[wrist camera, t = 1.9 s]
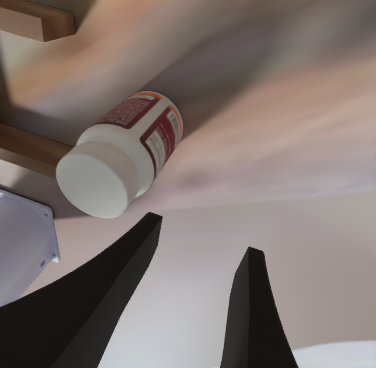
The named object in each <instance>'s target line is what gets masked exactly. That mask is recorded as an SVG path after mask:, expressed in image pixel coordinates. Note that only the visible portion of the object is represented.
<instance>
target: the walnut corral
mask: <svg viewBox="0 0 376 368" xmlns="http://www.w3.org/2000/svg"><path fill="white" fill-rule="evenodd" d="M0 30H3V31H6V32H10V33H13V34H17V35H20V36H24V37H27V38H31V39H34V40H38V41H41V42H47V41H51V40H55V39H58V38H62V37H66V36H70V35H74V34H75V26H74V13H71V12H67V11H64V10H60V9H56V8H53V7H49V6H45V5H41V4H38V3H34V2H30V1H27V0H0ZM73 148H74V147H72V146H69V145H66V144H63V143H60V142H57V141H54V140H51V139H48V138H45V137H42V136H39V135H36V134H33V133H30V132H27V131H24V130H21V129H17V128H14V127H11V126H8V125H5V124H2V123H1V121H0V159H1V160H4V161H7V162H10V163H13V164H16V165H19V166H22V167H24V168H27V169H30V170H33V171H36V172H39V173H42V174H45V175H48V176H50V177H53V178H56V168H57V165H58V163H59V161H60V160H61V159H62V158H63V157H64V156H65V155H66V154H68V153H69V152H70V151H71V150H72V149H73Z"/></svg>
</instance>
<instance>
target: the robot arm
mask: <svg viewBox="0 0 376 368" xmlns="http://www.w3.org/2000/svg"><path fill="white" fill-rule="evenodd" d="M162 218H163V217H162V216H160V215H157V214H154V213H151V212H149V213H147V214H146V215H145V216H144V217H143V218H142V219H141V220H140V221H139V222H138V223H137V224H136V225H135V226H133V228H131V229H130V230H129V231H128V232H127V233H125V234H124V235H123V236H122V237H121V238H119V239H118V240H117V241H116V242H114V243H113V244H112V245H110V246H109V247H108V248H106V249H105V250H104V251H102V252H101V253H100V254H98V255H97V256H96V257H94V258H93V259H91V260H90V261H88V262H87V263H85V264H83V265H82V266H80V267H79V268H77V269H75V270H74V271H72V272H70V273H69V274H67V275H65V276H63V277H62V278H60V279H58V280H56V281H55V282H53V283H51V284H49V285H47V286H45V287H43V288H41V289H39V290H36V291H34V292H32V293H30V294H28V295H26V296H24V297H22V298H20V297H21V296H22V294H23V293H24V292H25V291H26V290H27V288H28V287H29V286H30V285H31V284H32V283H33V281H34V280H35V279H36V278H37V277H38V275H39V274H40V273H41V272H42V271H43V270H44V268H45V267H46V266H47V265H48V264H49V262H50V261H51V260H52V261H54V262H59V261H60V254H59V248H58V243H57V237H56V231H55V226H54V220H53V214H52V210H51V208H50V207H48V206H45V205H43V204H40V203H37V202H34V201H32V200H29V199H26V198H23V197H20V196H18V195H15V194H12V193H9V192H7V191H4V190H1V189H0V368H97V367H98V365H99V363H100V360H101V358H102V356H103V354H104V351H105V349H106V347H107V345H108V342H109V340H110V338H111V336H112V334H113V331H114V329H115V327H116V325H117V323H118V320H119V318H120V316H121V314H122V312H123V310H124V309H125V307H126V305H127V303H128V302H129V300H130V298H131V296H132V295H133V293H134V291H135V289H136V287H137V286H138V284H139V282H140V280H141V279H142V277H143V275H144V274H145V271H146V270H147V268H148V266H149V264H150V262H151V260H152V257H153V255H154V253H155V250H156V248H157V246H158V240H159V235H160V229H161V223H162ZM19 298H20V299H19ZM220 368H298V365H297V363H296V361H295V358H294V356H293V353H292V351H291V348H290V346H289V343H288V341H287V338H286V335H285V333H284V330H283V327H282V324H281V321H280V318H279V315H278V312H277V308H276V305H275V301H274V298H273V294H272V290H271V286H270V282H269V278H268V273H267V268H266V262H265V255H264V253H263V251H261V250H258V249H255V248H252V247H248V249H247V251H246V253H245V255H244V257H243V259H242V261H241V263H240V265H239V267H238V269H237V271H236V273H235V276H234V280H233V285H232V289H231V293H230V299H229V307H228V316H227V324H226V333H225V342H224V349H223V355H222V361H221V366H220Z"/></svg>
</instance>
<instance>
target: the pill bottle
mask: <svg viewBox="0 0 376 368" xmlns="http://www.w3.org/2000/svg"><path fill="white" fill-rule="evenodd" d="M182 134H183V120H182V117H181V114H180V112H179V110H178V109H177V107H176V106H175V105H174V104H173V102H172V101H170V100H169V99H168V98H167V97H165V96H164V95H162V94H160V93H157V92H152V91H142V92H138V93H136V94H134V95H132V96H130V97H129V98H128V99H126V100H125V101H124V102H122V103H121V104H120V105H118V106H117V107H116V108H114V109H113V110H112V111H111V112H109V113H108V114H107V115H105V116H104V117H103V118H101V119H100V120H99V121H97V122H96V123H95V124H93V125H92V126H90V127H89V128H88V129H86V130H85V131H84V132H83V134H82V135H81V136H80V138H79V139H78V142H77V144H76V147H74V148H73V149H72V150H71V151H70V152H69V153H68V154H66V155H65V156H64V157H63V158H62V159H61V160H60V161H59V163H58V165H57V168H56V179H57V182H58V185H59V187H60V189H61V191H62V192H63V194H64V195H65V197H66V198H67V199H68V200H69V201H70V202H71V203H72V204H73V205H74V206H75V207H77V208H78V209H80V210H81V211H83V212H85V213H87V214H89V215H91V216H94V217H98V218H104V219H106V218H107V219H110V218H115V217H118V216H120V215H122V214H123V213H124V212H125V211H126V210H127V208H128V207H129V205H130V204H131V202H132V201H133V200H134V198H135V197H138V196H140V195H141V194H143V193H144V192H146V191H147V190H148V189H149V188H150V187H151V185H152V183H153V182H154V180H155V178H156V177H157V175H158V174H159V172H160V171H161V169H162V168H163V166H164V165H165V163H166V162H167V160H168V159H169V157H170V156H171V154H172V152H173V151H174V149H175V148H176V146H177V145H178V143H179V141H180V140H181V138H182Z"/></svg>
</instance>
